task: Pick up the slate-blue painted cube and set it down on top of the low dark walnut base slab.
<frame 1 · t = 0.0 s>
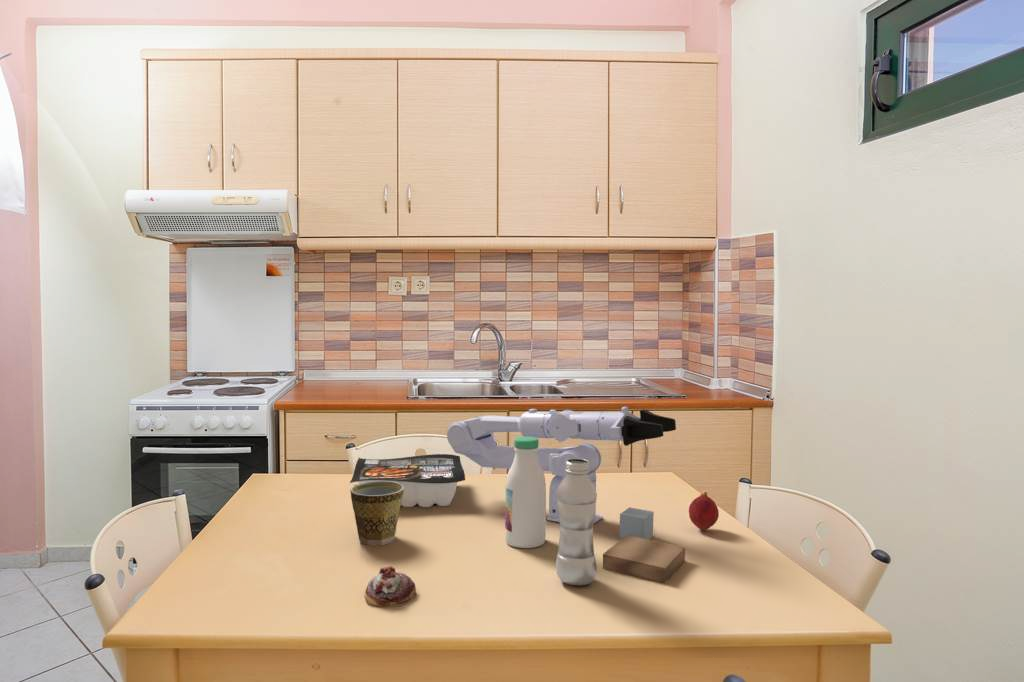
hand: (669, 427, 125), 22 cm above the table, tool horizontal, fingers open, 7 cm apart
onion: (703, 531, 131), on the table
ceramic cup: (372, 538, 125), on the table
cube: (636, 537, 127), on the table
plastic bottle: (575, 583, 106), on the table
food packaging: (409, 497, 153), on the table
pastry: (390, 597, 100), on the table
milk bottle: (525, 543, 124), on the table
base: (644, 564, 113), on the table
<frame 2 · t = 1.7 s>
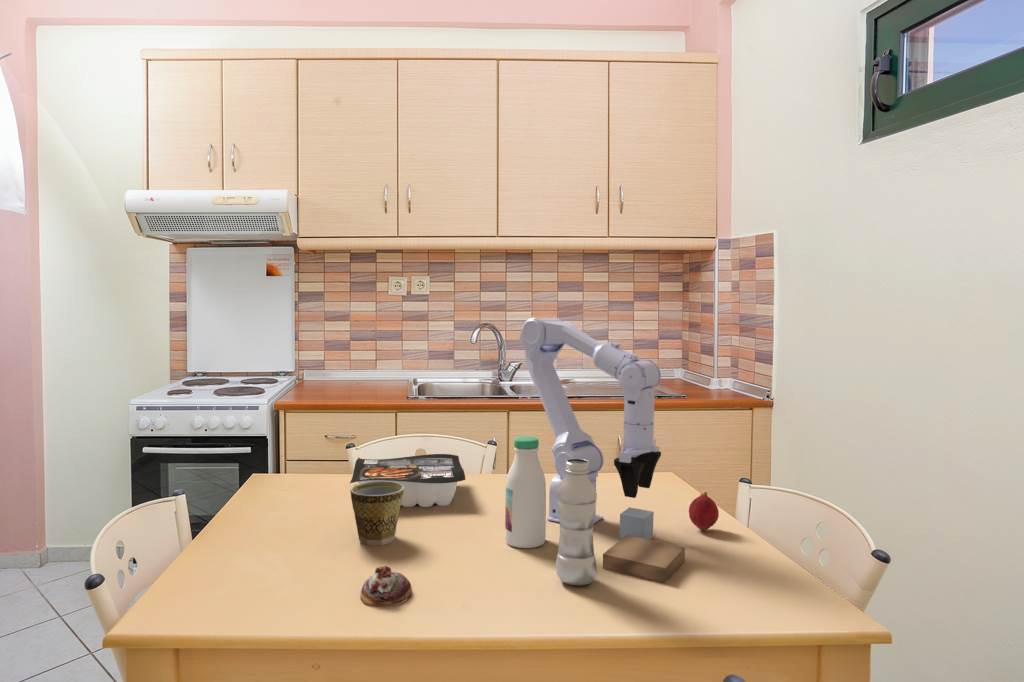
hand: (637, 491, 126), 9 cm above the table, tool pointing down, fingers open, 7 cm apart
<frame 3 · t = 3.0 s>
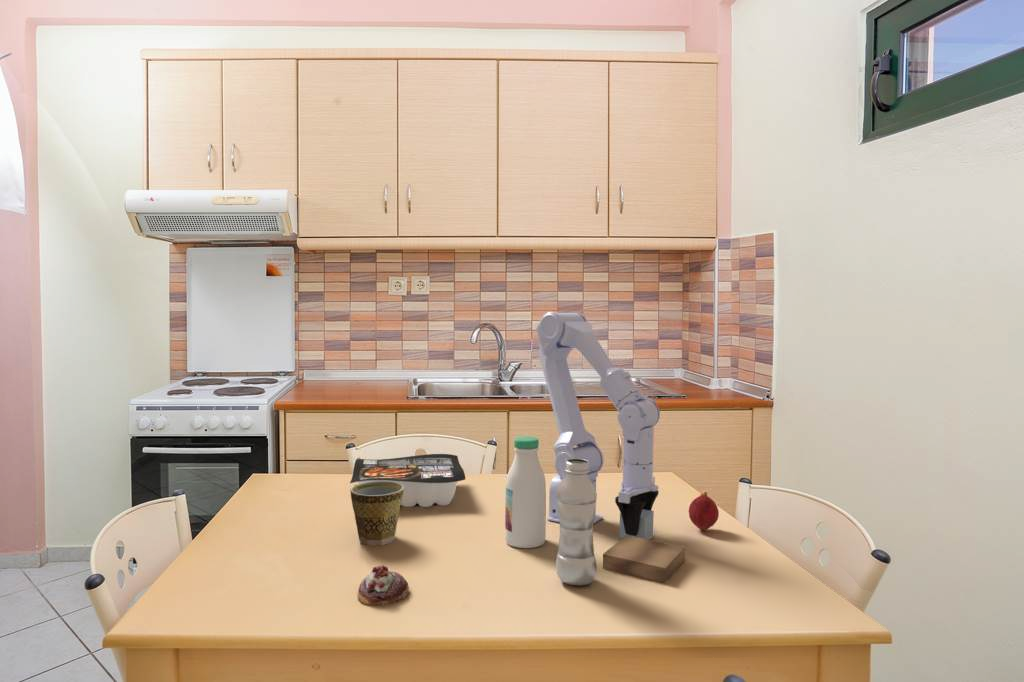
hand: (636, 530, 127), 1 cm above the table, tool pointing down, fingers closed on cube, 5 cm apart
cube: (636, 537, 127), on the table, touching gripper
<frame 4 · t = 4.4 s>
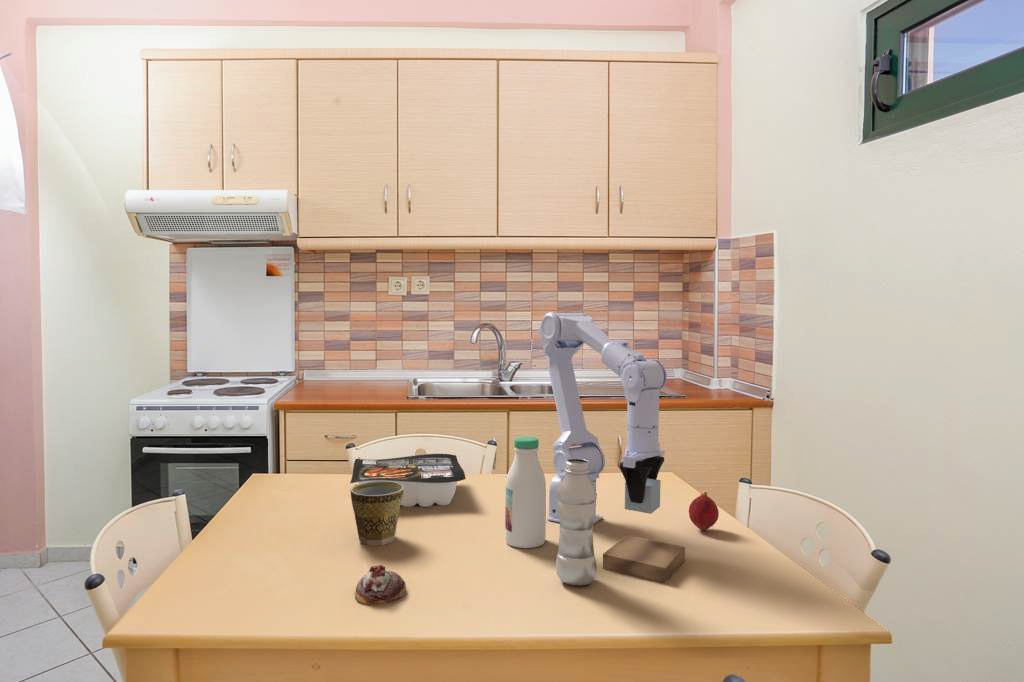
hand: (641, 498, 120), 10 cm above the table, tool pointing down, fingers closed on cube, 5 cm apart
cube: (642, 507, 120), point 8 cm above the table, touching gripper
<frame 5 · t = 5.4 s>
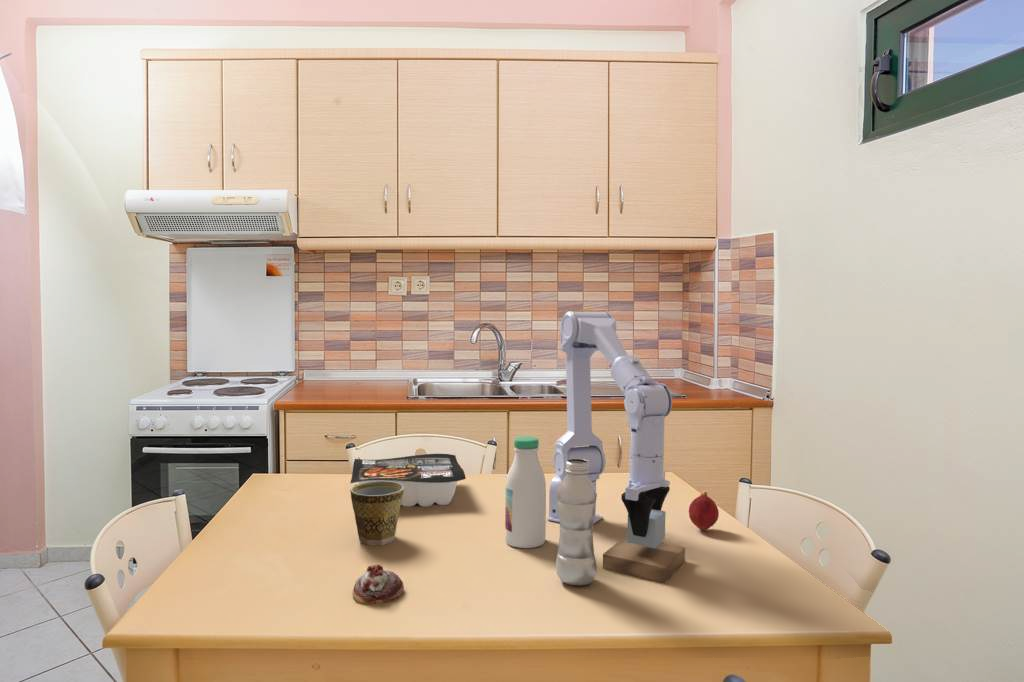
hand: (645, 530, 113), 6 cm above the table, tool pointing down, fingers closed on cube, 5 cm apart
cube: (646, 540, 113), point 4 cm above the table, touching gripper
when the fingers open (5 cm above the table, at t = 6.0 s): cube drops 1 cm, resting on base.
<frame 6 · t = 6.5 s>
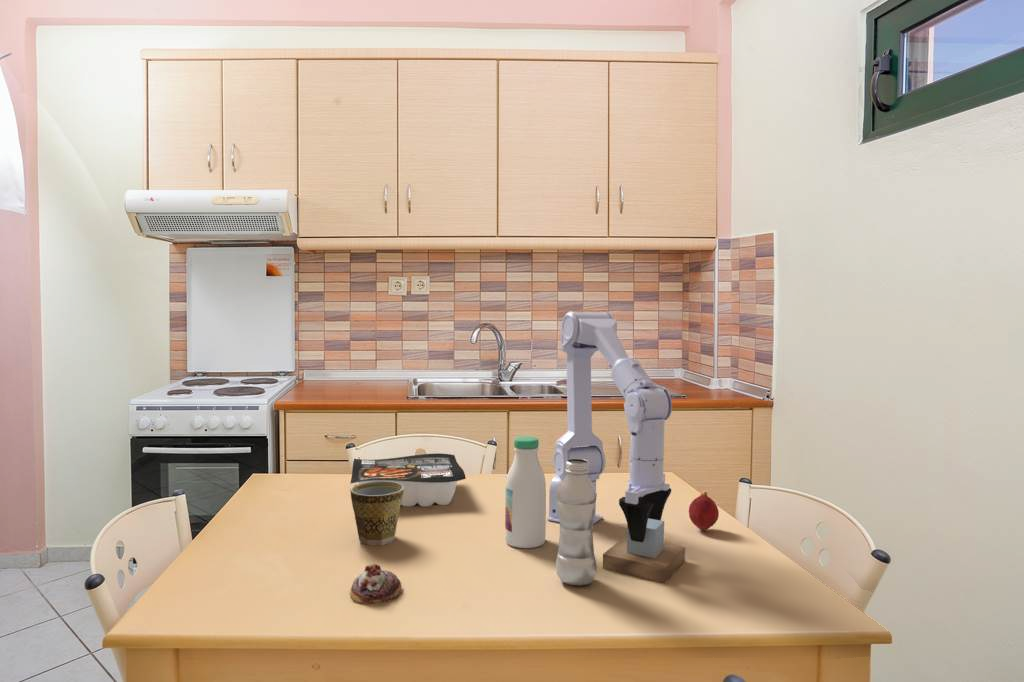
hand: (645, 534, 113), 5 cm above the table, tool pointing down, fingers open, 7 cm apart
cube: (645, 550, 113), point 2 cm above the table, touching base
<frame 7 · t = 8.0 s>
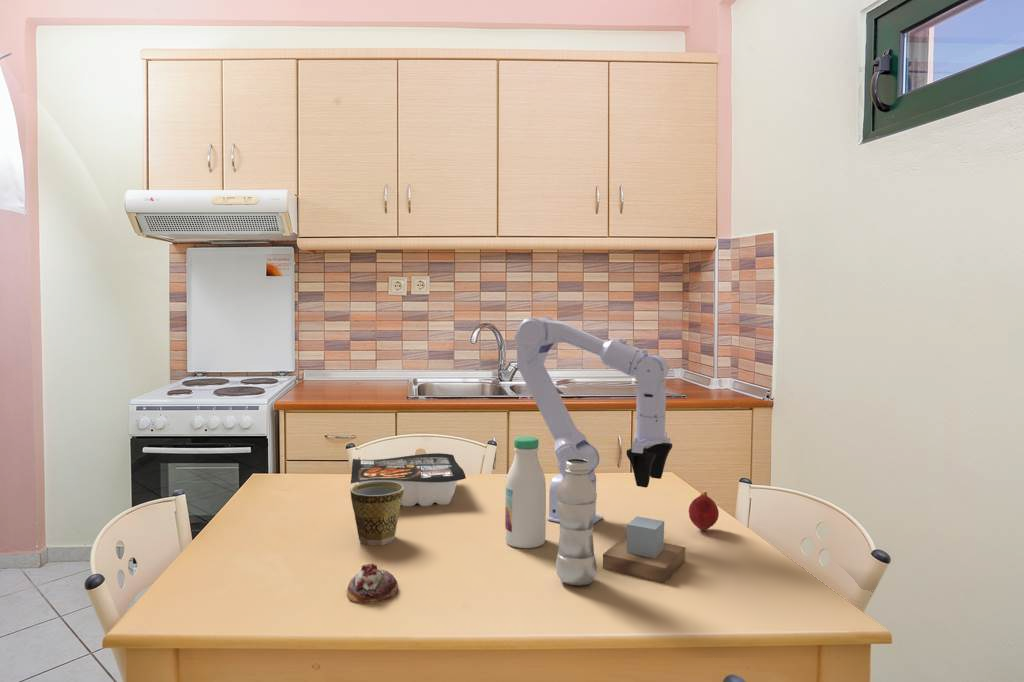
hand: (649, 482, 130), 10 cm above the table, tool pointing down, fingers open, 7 cm apart
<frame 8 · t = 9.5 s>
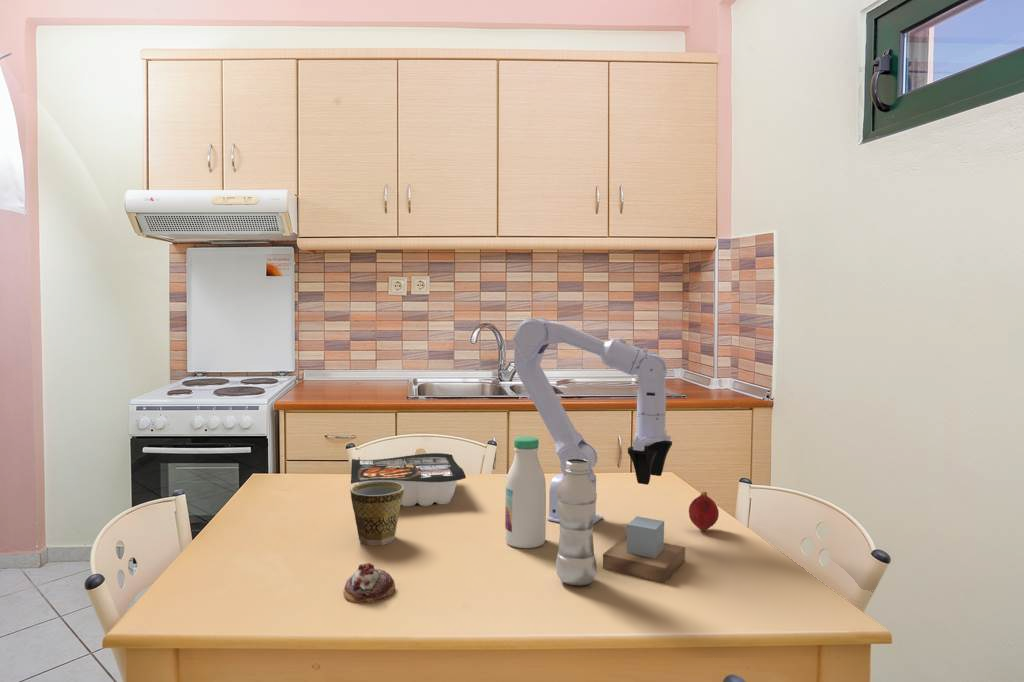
hand: (649, 479, 132), 10 cm above the table, tool pointing down, fingers open, 7 cm apart
at the end: cube inside the target area on the base (0.1 cm from its centre), point 2.5 cm above the base's base; cube tilted 0°; the gripper is holding nothing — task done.
